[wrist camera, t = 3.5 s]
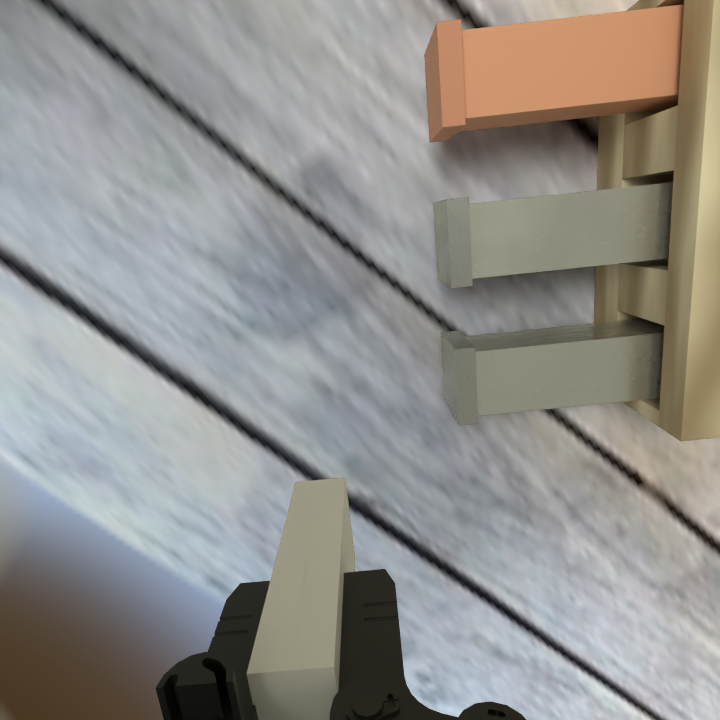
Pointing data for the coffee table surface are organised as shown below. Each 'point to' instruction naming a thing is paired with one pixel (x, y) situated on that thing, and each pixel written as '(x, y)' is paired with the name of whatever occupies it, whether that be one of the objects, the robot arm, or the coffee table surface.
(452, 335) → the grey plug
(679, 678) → the coffee table surface
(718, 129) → the socket block
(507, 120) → the terracotta plug
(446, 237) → the grey plug middle
